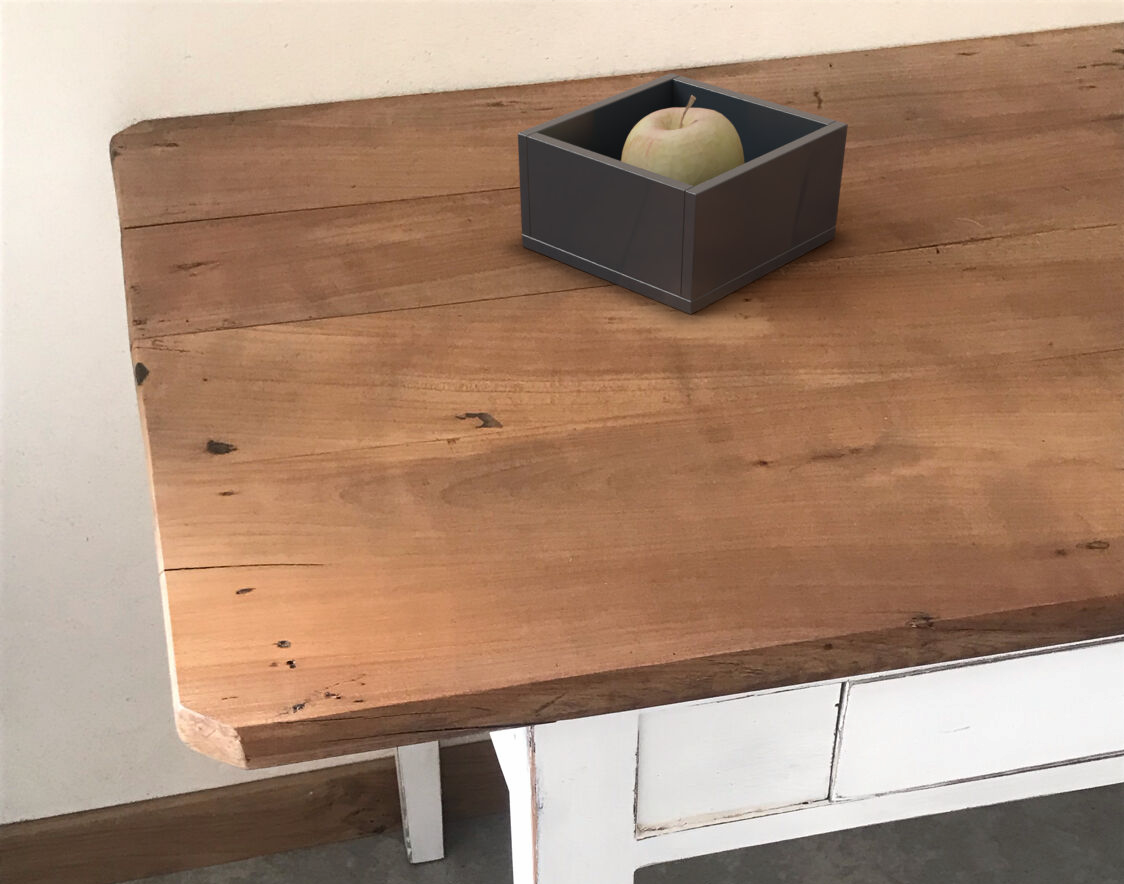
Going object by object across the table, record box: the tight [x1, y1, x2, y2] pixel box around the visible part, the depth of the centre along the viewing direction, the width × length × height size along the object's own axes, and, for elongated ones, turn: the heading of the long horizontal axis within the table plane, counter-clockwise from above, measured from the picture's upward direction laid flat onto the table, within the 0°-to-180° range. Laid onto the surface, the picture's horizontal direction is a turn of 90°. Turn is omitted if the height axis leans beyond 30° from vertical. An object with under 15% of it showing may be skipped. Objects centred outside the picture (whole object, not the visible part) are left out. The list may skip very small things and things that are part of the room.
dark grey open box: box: [517, 72, 849, 315], centre depth 82 cm, size 14×14×7 cm
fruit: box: [621, 95, 744, 187], centre depth 81 cm, size 8×7×8 cm
